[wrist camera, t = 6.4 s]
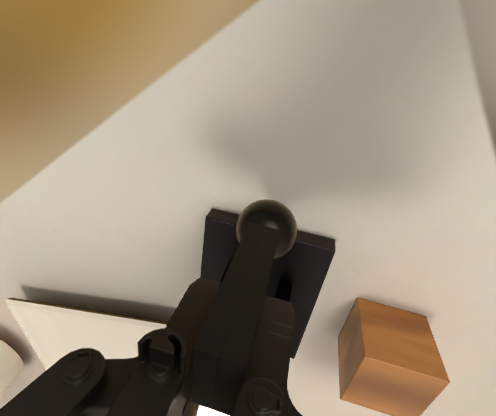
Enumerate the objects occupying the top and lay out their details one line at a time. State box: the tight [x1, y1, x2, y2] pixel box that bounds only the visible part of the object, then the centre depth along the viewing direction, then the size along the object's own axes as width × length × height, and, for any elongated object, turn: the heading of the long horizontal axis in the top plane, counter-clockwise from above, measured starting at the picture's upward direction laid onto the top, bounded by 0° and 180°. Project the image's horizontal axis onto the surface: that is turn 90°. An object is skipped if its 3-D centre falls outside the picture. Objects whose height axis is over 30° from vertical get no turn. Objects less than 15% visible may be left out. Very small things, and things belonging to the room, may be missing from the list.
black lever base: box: [182, 209, 335, 416], centre depth 19 cm, size 12×9×12 cm
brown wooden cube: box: [338, 298, 450, 416], centre depth 21 cm, size 5×5×5 cm
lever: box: [195, 200, 297, 416], centre depth 15 cm, size 13×3×3 cm
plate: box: [5, 298, 167, 370], centre depth 33 cm, size 19×19×2 cm
